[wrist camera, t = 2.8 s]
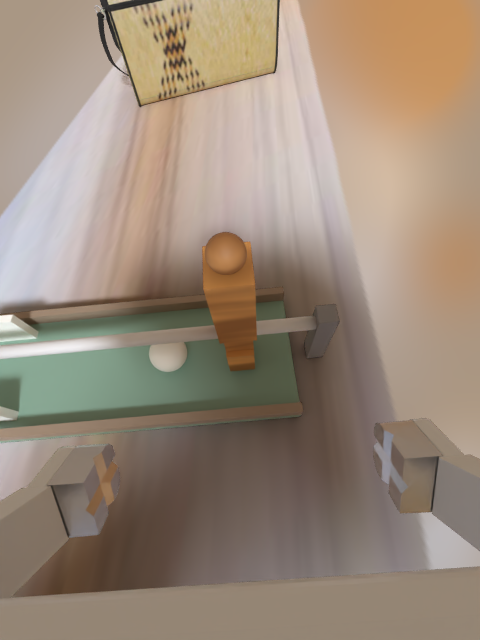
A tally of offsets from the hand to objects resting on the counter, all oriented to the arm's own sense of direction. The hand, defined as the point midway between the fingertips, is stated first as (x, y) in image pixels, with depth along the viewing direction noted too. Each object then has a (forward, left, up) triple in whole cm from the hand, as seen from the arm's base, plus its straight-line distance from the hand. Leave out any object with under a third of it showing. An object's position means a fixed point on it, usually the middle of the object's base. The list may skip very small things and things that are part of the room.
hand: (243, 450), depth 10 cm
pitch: (+11, +11, -20) cm, 26 cm away
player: (+11, 0, -19) cm, 22 cm away
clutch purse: (+65, +3, -21) cm, 68 cm away
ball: (+11, +7, -17) cm, 22 cm away
